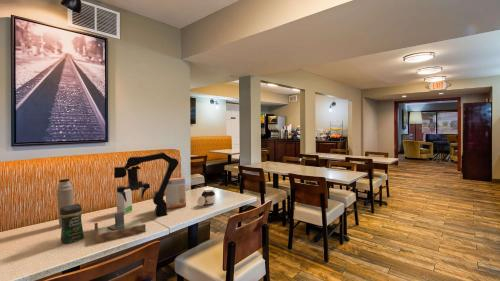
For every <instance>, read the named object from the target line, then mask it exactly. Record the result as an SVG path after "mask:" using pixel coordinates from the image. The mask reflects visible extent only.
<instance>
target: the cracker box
mask: <svg viewBox="0 0 500 281" xmlns="http://www.w3.org/2000/svg"><path fill="white" fill-rule="evenodd" d="M186 192H187V191H186V178H185V177H175V178H174V177H173V178H171V177H170V179H169V182H168V184H167V187H166V189H165V191H164V195H165V202H166V207H167V210H168V209H176V208H183V207H187V197H186V196H187V194H186Z"/></svg>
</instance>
